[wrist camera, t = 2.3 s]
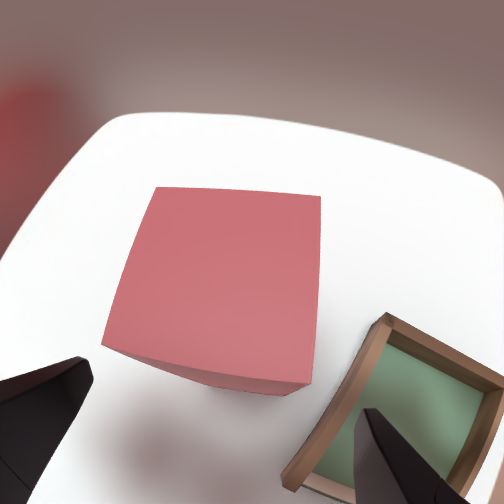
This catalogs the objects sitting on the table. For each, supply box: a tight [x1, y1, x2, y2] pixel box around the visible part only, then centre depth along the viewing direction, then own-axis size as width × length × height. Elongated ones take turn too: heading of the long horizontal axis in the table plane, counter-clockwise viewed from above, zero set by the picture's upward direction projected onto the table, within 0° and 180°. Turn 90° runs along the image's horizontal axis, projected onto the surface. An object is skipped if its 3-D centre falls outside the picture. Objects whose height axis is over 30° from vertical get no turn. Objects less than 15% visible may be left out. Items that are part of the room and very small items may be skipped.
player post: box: [101, 187, 321, 396], centre depth 13 cm, size 5×5×13 cm
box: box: [281, 312, 504, 504], centre depth 13 cm, size 12×13×3 cm
